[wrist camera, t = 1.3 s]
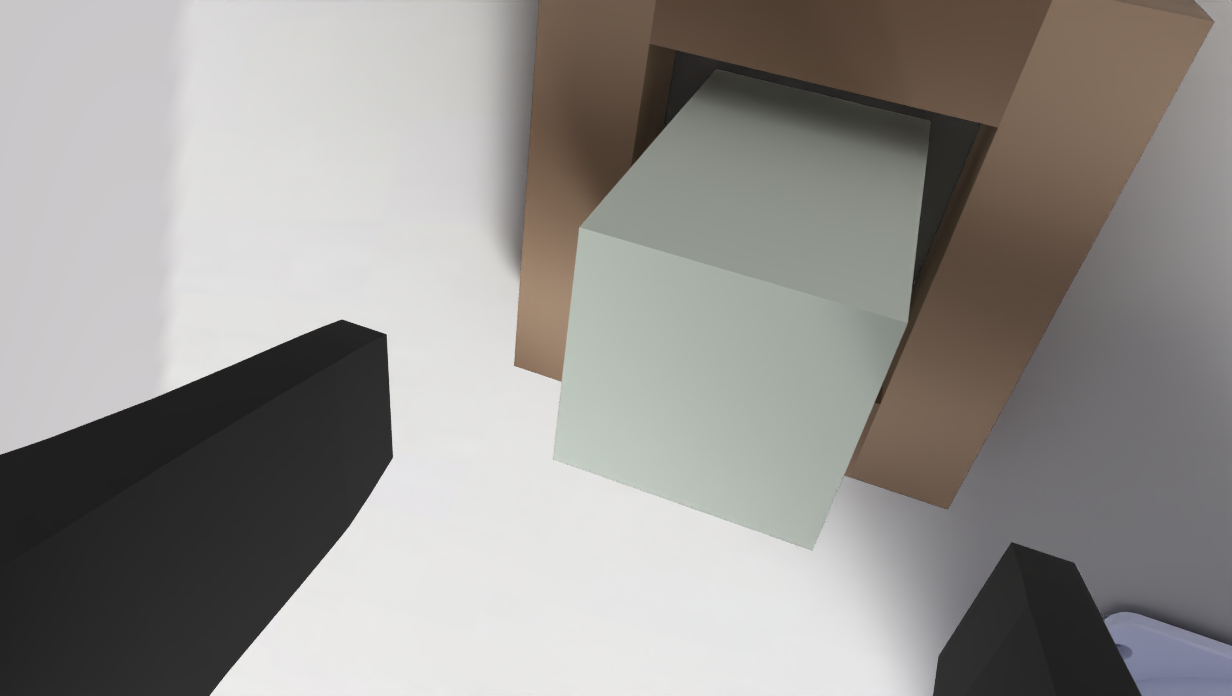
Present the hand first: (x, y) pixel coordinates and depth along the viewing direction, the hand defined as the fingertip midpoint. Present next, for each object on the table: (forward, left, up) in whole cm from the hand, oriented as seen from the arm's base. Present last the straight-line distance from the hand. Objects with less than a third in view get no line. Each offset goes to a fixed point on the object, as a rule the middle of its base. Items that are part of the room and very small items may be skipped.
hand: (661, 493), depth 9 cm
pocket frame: (0, 0, -9) cm, 9 cm away
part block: (0, 0, -9) cm, 9 cm away
